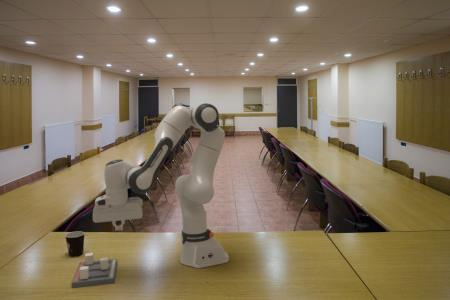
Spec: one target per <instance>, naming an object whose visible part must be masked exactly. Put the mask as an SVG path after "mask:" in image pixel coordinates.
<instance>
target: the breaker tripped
mask: <svg viewBox="0 0 450 300" xmlns="http://www.w3.org/2000/svg"><path fill="white" fill-rule="evenodd" d="M108 259H109V257H101V258H100V259H99V260H100V266H101V270H106V269H108V268H109V261H108Z"/></svg>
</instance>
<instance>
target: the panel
mask: <svg viewBox="0 0 450 300" xmlns="http://www.w3.org/2000/svg"><path fill="white" fill-rule="evenodd" d="M100 260H101V259H99V260H94V262H93V264H90V265H85V261H80V262H79V264H78V267H77V269H76V270H75V273H74V276H73V279H72V281H71V288H72V289H75V288H81V287H91V286H101V285H108V284H109V285H110V284H115V282H116V281H115V280H116V275H117V268H118V258H110V259H109V258H108V261H109V268H108V269H106V270H101V266H100ZM83 266H89V278H88V279H80V268H81V267H83Z"/></svg>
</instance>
